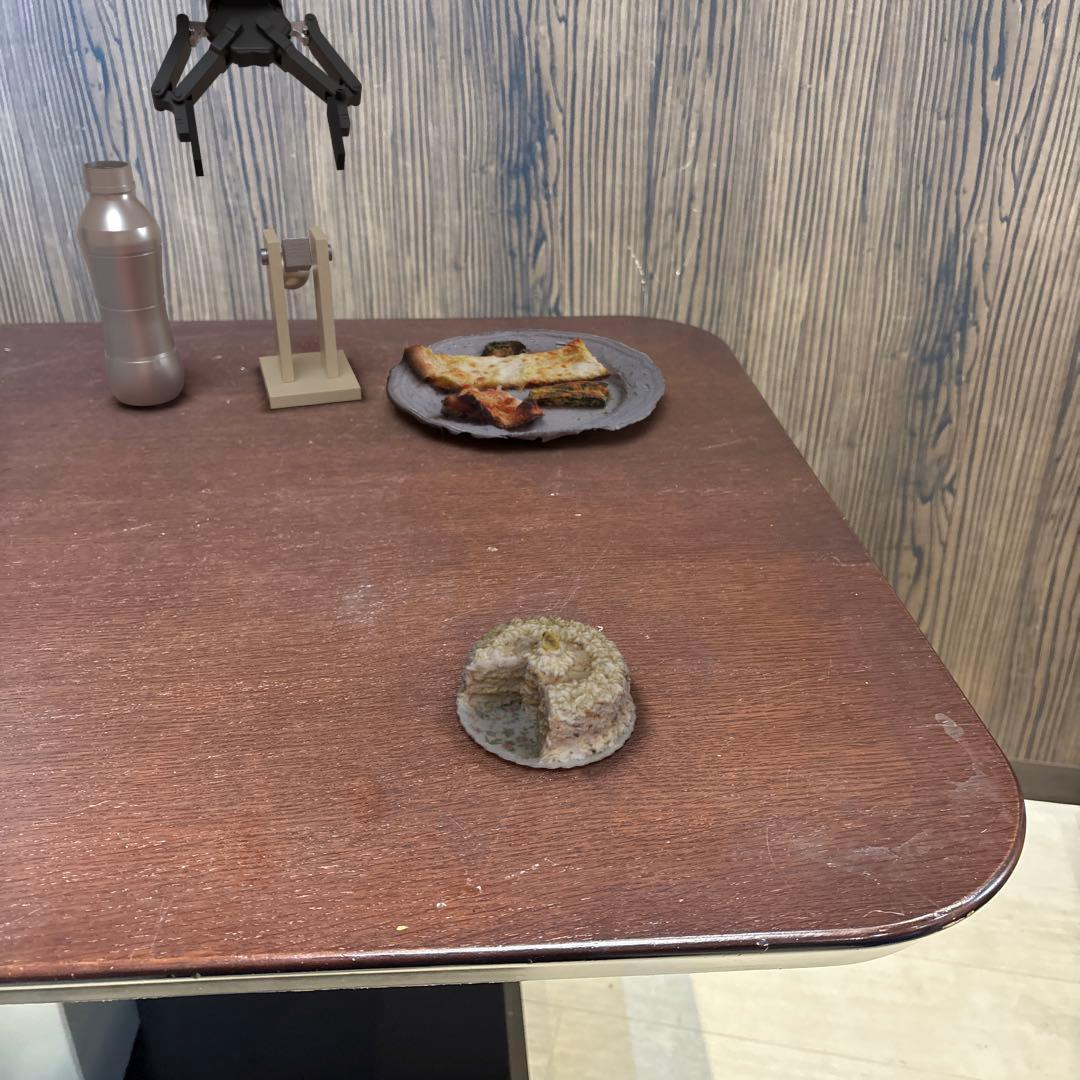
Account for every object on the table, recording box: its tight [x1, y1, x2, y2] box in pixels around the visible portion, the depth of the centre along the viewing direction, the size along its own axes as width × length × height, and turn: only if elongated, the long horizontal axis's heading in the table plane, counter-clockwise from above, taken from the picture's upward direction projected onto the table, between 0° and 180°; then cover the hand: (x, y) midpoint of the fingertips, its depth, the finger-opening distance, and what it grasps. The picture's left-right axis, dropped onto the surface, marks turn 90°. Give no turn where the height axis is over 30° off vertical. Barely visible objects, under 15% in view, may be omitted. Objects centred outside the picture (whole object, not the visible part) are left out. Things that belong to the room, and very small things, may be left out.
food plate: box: [385, 327, 666, 443], centre depth 91 cm, size 25×23×4 cm
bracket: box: [258, 225, 362, 410], centre depth 90 cm, size 10×8×14 cm
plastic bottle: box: [76, 160, 185, 407], centre depth 84 cm, size 6×7×20 cm
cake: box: [454, 613, 637, 770], centre depth 54 cm, size 10×10×5 cm
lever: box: [280, 236, 312, 291], centre depth 92 cm, size 11×4×4 cm, turn 19°
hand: (271, 165), depth 99 cm, fingers open, 13 cm apart
